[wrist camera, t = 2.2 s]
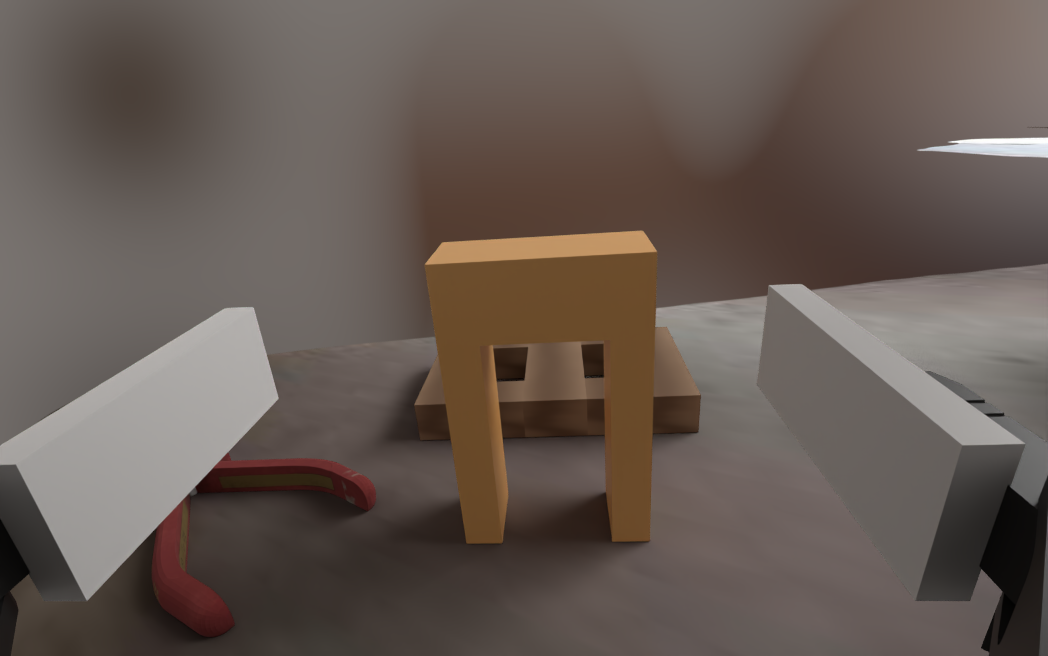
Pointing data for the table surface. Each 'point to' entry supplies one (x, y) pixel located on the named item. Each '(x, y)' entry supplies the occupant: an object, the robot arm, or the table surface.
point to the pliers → (171, 540)
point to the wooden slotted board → (566, 391)
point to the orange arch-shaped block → (546, 317)
